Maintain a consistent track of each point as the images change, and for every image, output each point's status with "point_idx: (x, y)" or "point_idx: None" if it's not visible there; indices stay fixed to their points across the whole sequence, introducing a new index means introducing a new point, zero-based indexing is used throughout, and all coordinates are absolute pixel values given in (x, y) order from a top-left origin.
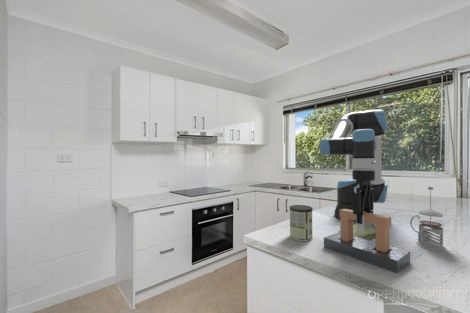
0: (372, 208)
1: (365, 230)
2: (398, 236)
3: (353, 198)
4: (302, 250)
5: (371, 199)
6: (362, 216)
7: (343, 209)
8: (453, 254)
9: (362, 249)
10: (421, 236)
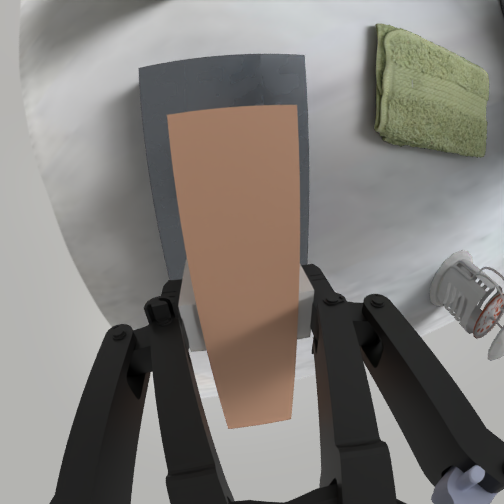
0: (364, 349)
1: (451, 120)
2: (482, 200)
3: (70, 449)
4: (56, 72)
5: (394, 409)
6: (189, 338)
7: (234, 125)
8: (424, 323)
9: (167, 256)
10: (460, 284)
